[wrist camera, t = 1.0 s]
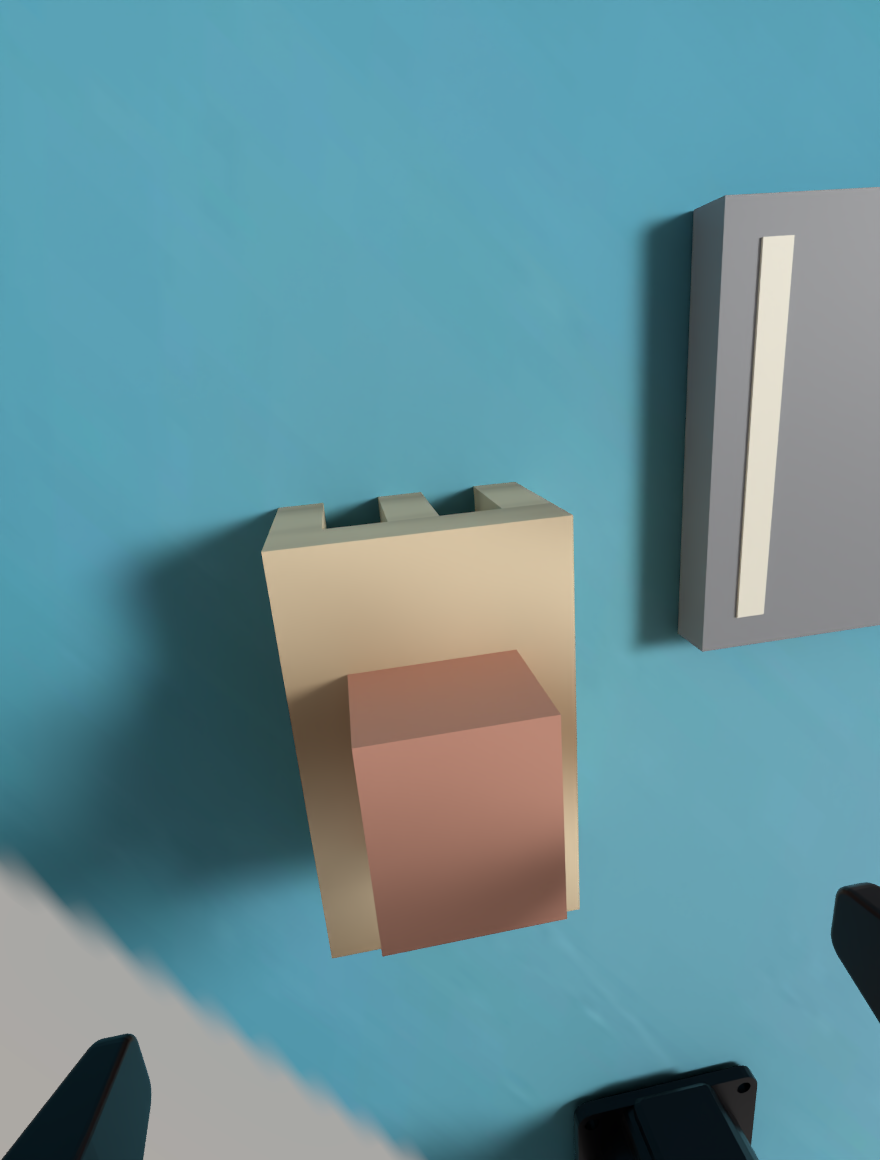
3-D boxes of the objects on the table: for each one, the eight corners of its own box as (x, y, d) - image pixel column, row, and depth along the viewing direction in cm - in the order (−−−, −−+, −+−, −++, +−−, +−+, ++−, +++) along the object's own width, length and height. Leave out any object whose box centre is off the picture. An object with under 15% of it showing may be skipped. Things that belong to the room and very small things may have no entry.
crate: (525, 824, 13) (566, 919, 11) (373, 852, 13) (382, 956, 11) (516, 649, 12) (560, 714, 10) (347, 674, 12) (352, 748, 9)
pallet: (528, 798, 18) (579, 908, 14) (331, 833, 17) (331, 958, 14) (513, 481, 15) (572, 514, 12) (279, 506, 15) (261, 552, 11)
